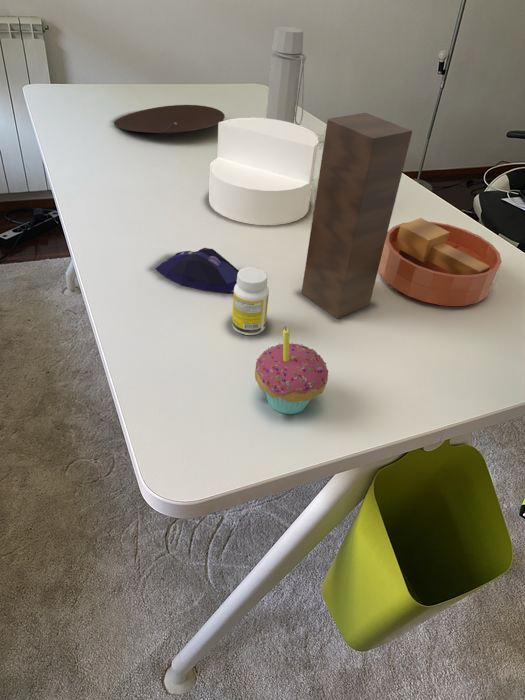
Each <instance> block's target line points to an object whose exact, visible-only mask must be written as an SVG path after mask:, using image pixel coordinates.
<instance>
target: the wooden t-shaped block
mask: <svg viewBox="0 0 525 700" xmlns="http://www.w3.org/2000/svg"><path fill="white" fill-rule="evenodd" d="M430 222H431V221H428V220H426V219H424V218H422V217H420V218H416V219H414V220H411V221H408V223H407V222H404V223H405V224H402V223H401V224H402V225H400V229H399V232H398V236H397V240H396V244H395V247H396V248H398V249H400V250H402V251H403V252H405V253H407V254H409V255H411V256H413V257H414V258H416V259H418V260H420V261H422V262H425V261H427V260H428V261H430V262H432V263H434V264H436V265H438V266H439V267H441V268H443V269H445V270H447V271H449V272H450V273H452V274H454V275H475V274H480V273H485V272H487V271H489V269H490V266H489V265H487V264H485V263H483V262H481V261H479V260H477V259H475V258H473V257H471V256H469V255H467V254H465V253H463V252H461V251H459V250H457V249H455V248H453V247H451V246H449V245H447V244H446V243H447V240H448V237H449V234H450V232H449V231H447V230H445V229H442V228H440V227H438V226H436V225H434V224H432V223H430Z"/></svg>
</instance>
